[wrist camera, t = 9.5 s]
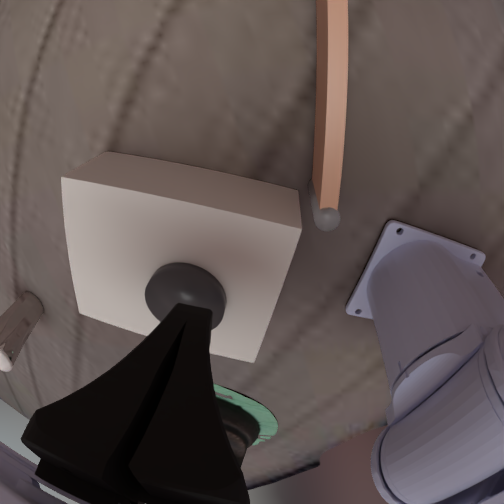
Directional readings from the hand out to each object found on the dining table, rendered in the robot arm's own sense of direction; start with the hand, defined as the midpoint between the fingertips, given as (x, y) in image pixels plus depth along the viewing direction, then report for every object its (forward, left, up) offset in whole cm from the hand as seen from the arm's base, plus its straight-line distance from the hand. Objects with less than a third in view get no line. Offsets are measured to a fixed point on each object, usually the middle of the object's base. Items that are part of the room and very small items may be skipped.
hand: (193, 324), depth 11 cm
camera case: (+3, +2, -9) cm, 10 cm away
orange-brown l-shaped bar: (-2, -12, -9) cm, 15 cm away
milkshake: (+21, +15, -10) cm, 27 cm away
